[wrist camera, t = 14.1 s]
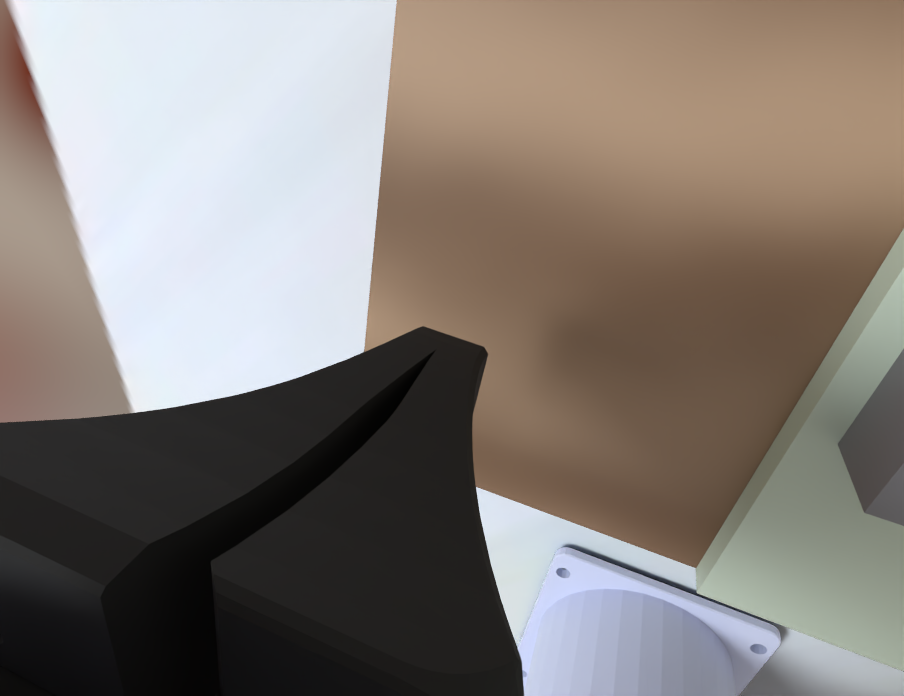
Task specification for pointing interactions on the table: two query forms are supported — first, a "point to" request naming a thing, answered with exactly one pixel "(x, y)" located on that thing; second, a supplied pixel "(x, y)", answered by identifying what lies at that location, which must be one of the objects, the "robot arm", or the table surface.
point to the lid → (831, 495)
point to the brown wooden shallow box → (637, 233)
